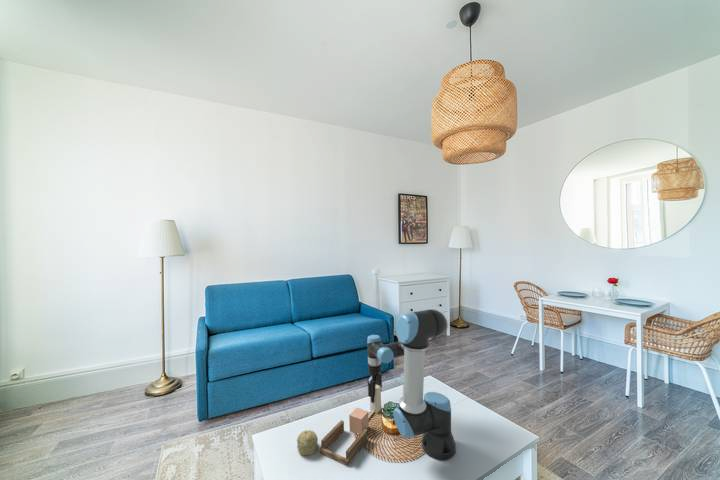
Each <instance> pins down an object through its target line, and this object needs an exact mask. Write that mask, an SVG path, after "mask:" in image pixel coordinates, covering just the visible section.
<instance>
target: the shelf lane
mask: <svg viewBox="0 0 720 480" xmlns="http://www.w3.org/2000/svg"><path fill="white" fill-rule="evenodd" d="M344 431H345V421H344V420H342V419H341V420H340V421H339V422H337V424H336V425H335V426H333V428H332V429H331V430H330V431H329V432H327V434H326V435H325V436H324V437H323V438H322V439H321V440H320V442H321V443H320V448H319V453H320V454H322V455H323V456H326V457H327V458H329V459H332V460H334V461H336V462H338V463H340V464H342V465H345V466H347V467H348V466H349V465H350V464H351V462H352V461H353V460H354V458H355V457H356V456H357V454H359V452H360V451H361V449H362V448H363V446H365V445H366V443H367V442H366V441H368V429H367V430H366V429H364V430H363V431H362V432H361V434H360V435H359V434H358V436H357V437H356V438H355V440H354V441H353V442H352V443H351V445H350V446H349V447H348V448H347V449H346V450H345V457H344V456H343V455H340V454H338V453H336V452H333V451H332V450H330V449H329V448H330V447H331V446H332V445H333V443H335V441H336V440H337V439H339V437H340V436H341V435H342V434H343V433H344Z"/></svg>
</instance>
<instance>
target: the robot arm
mask: <svg viewBox="0 0 720 480" xmlns="http://www.w3.org/2000/svg"><path fill="white" fill-rule="evenodd" d="M447 329H448V321H447V318H446V316H445V315H444V314H443V313H442V312H440V311H439V310H436V309H425V310H424V309H423V310H418V311H409V312H407V313H406V312H405V313H402V314H400V316H398V318H397V320H396V323H395V333H396V337H397V339H398V341H396V342H391V343H387V344H384V343H382V339H381V336H380V335H377V334H370V335H368V336H367V341H366V344H367V371H368V372H369V373H370V374H369V378H368V379H367V381H366V382H367V388H368V389H367V392H368V394H367V396H368V397H369V398H370V397H371V407H372V408H375V409H376V396H375V387H376V385H380V386H381V392H382V388H383V385H382V384H383V380H382V379H383V377H382V375H383V370H382V364H383V363H384V364H389V363H391V362H392V361H393V360H394V359H397V358H400V357H403V380H402V382H403V383H402V385H403V386H402V396H401V397H400V398H399V401H398V407H396V408H394V409H393V419H394V420H393V421H394V423H395V426H396V429H397V431H398V432H399V433H400V435H401V436H402V437H403V438H404V439H413V438H416V437H417V436H419V435H422V436H421V448H422V450H423V451H424V453H425V454H426V455H427V456H429V457H430V458H432V459H435V460H439V461H446V460H450V459H451V458H453V457H454V456H455V455H456V452H457V446H456V445H457V444H456V442H455V439H454V436H453V432H452V408H451V407H452V405H451V401H450V398H448V397H447V396H446V395H444V394H442V393H439V392H436V391H428V392H426V393H425V394H424V385H425V384H424V381H425V379H424V378H425V357H426V355H425V353H426V349H428V348H429V347H430V340H432V339H438V338H440V337H441V336H442V335H444V334H445V333H446V331H447Z"/></svg>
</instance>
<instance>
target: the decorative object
mask: <svg viewBox="0 0 720 480" xmlns="http://www.w3.org/2000/svg"><path fill="white" fill-rule="evenodd" d="M296 438H297V439H296V444H297V452H298V453H299V455H301V456H303V457H305V456H309V455H312V454H314V453H315V452H316V451H317V449H318V439H319V438H318V435H317V434H316V432H315V431H313V430H310V429H308V430H306V429H305V430H303V431H302V432H300V433H299V434H298V435H297V437H296Z"/></svg>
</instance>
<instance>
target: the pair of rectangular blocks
mask: <svg viewBox="0 0 720 480" xmlns="http://www.w3.org/2000/svg"><path fill="white" fill-rule="evenodd" d="M381 389H382V388H381V386H380V385H376V387H375V396H376V409H375V408H372V407H371V397H369V405H370V406H369V409H370V411H371V412H370V411H368V410H365V409H362V408H360V407H356V408H354V410H353V411H351V413H350V414H349V416H348V417H349V418H348V419H349V432H352V433H354V434H356V433H359V434H361V432H362V431H363V430H364V429H367V428H368V429H369V427H368V426H370V425H369V422H370V421H369V420H370V418H371V417H372V416H373V415H374V414H375V413H376V412H377V413H376V414H378V413H379V412H381V410H382V391H381ZM369 412H370V413H369ZM374 412H375V413H374ZM373 413H374V414H373ZM372 414H373V415H372ZM371 415H372V416H371ZM370 416H371V417H370ZM369 417H370V418H369ZM368 418H369V419H368ZM368 429H367V430H368ZM359 434H358V435H359Z"/></svg>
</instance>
